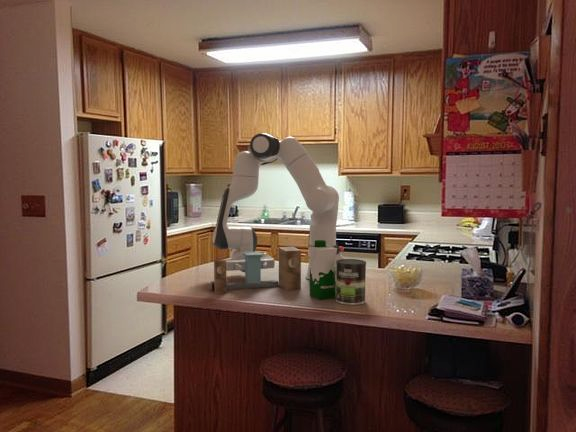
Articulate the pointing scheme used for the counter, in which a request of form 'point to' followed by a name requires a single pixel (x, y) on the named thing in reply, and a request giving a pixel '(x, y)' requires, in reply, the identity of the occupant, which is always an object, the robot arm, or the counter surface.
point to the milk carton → (322, 270)
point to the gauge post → (220, 277)
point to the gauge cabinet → (290, 268)
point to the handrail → (248, 285)
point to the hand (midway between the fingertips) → (253, 267)
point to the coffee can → (350, 281)
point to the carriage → (253, 267)
